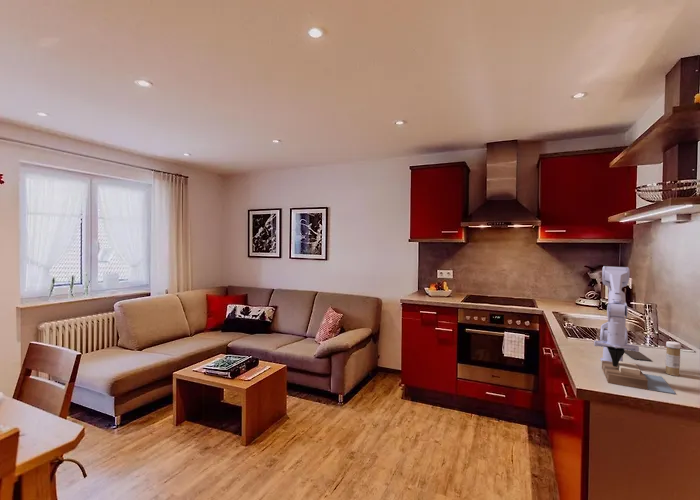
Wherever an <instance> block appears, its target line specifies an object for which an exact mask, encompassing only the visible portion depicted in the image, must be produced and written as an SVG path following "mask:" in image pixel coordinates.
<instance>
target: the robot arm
mask: <svg viewBox="0 0 700 500" xmlns="http://www.w3.org/2000/svg"><path fill="white" fill-rule="evenodd" d="M601 271H602V273H601V275H602V276H601V277H602V278H601V279H602V284H603V285H604V286H606V287H607V290H608V293H607V294H608V295H607V297H608V298H607V299H608V304H607V305H606V306H607V307H606V316H607V322H604V323H602V324H601V325H600V332H599V333H600V334H599V340H594V341H593V346H594V347H602V348H603V349H602V357H600V361H601V362H602V360H604V361H610V362H612V364H613V366H614V367H618V363H619V361H622V362H624V354H626V353H625V351H624V350H630V351H636V352H640V347H639V345H633V344H629V343H628V342H629V341H628V339H629V338H628V337H629V335H628V333H629V332H628V329H627V327H626V323H627V321H626V320H627V319H628V313H629V311H628V310H629V308H628V304H627V302H626V294H625V292H624V291H623V290H622V289H623V288H624V287H627V286H628V284H629V281H630V275H631V273H630V272H631V271H630V268H629V266H608V265H607V266H606V265H603V267H602V270H601Z"/></svg>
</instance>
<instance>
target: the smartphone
mask: <svg viewBox="0 0 700 500" xmlns="http://www.w3.org/2000/svg"><path fill="white" fill-rule="evenodd" d="M624 351H625V353H624V354H626V356H628V357H629V358H631V359H632V360H634V361H641V362H643V361H644V362H651V363H652V362H653V360H652V359H651V358H649V357H648V356H646V355H645V354H644V353H642V352H641V351H639V352H636V351H631V350H624Z"/></svg>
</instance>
